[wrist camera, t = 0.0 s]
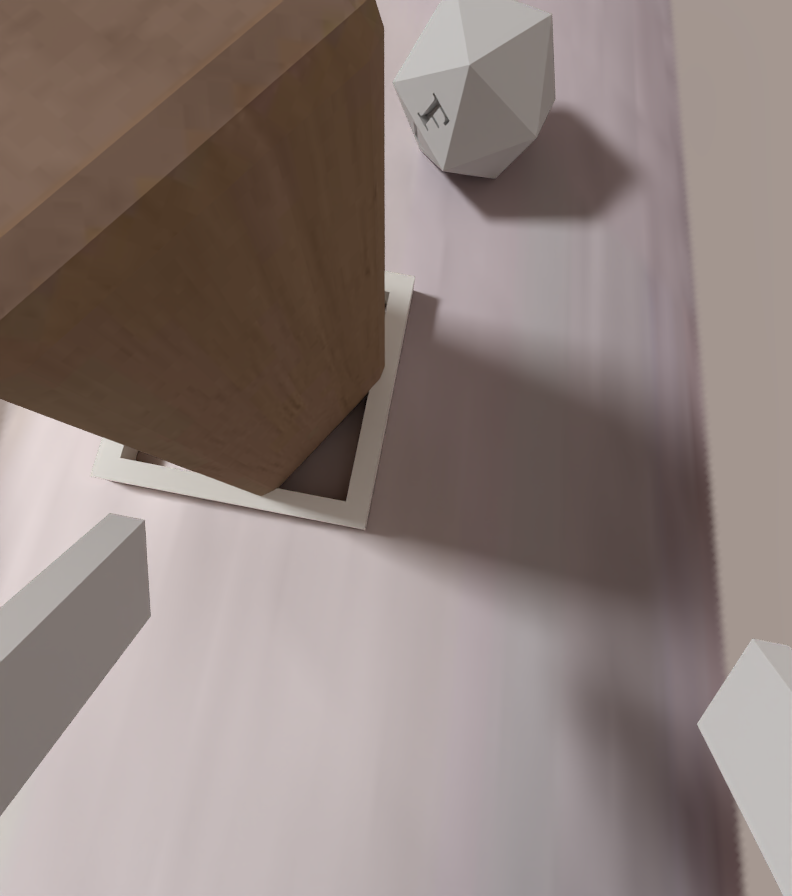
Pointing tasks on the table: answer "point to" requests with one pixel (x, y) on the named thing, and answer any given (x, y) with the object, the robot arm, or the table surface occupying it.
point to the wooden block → (193, 223)
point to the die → (479, 84)
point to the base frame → (353, 512)
